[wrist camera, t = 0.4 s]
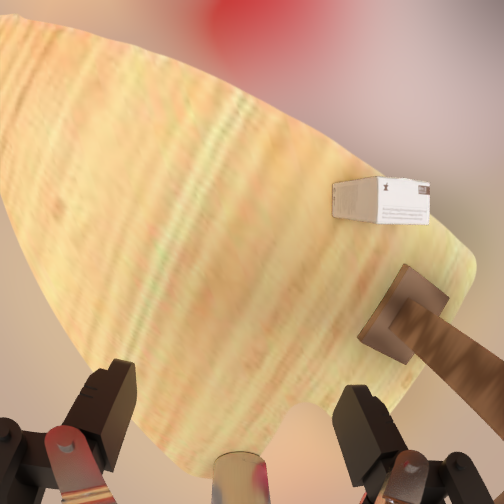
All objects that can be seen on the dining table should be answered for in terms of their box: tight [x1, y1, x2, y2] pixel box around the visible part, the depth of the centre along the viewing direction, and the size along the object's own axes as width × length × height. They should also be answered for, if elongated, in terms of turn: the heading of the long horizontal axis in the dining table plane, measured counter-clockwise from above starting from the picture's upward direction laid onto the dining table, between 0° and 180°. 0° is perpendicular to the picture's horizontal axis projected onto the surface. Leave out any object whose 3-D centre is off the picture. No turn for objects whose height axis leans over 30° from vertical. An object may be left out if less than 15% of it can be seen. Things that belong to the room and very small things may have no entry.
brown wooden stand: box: [357, 264, 504, 504], centre depth 22 cm, size 12×12×33 cm
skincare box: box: [332, 176, 430, 225], centre depth 29 cm, size 6×4×12 cm
